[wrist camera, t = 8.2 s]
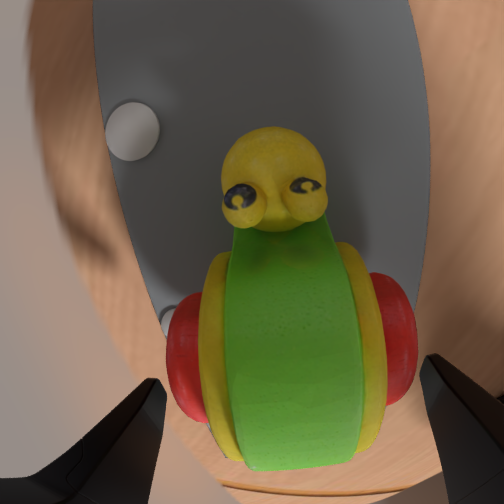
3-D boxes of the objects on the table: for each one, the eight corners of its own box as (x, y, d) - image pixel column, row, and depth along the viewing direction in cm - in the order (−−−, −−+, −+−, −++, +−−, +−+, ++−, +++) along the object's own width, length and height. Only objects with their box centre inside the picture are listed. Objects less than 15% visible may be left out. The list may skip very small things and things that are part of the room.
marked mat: (368, 440, 17) (369, 449, 16) (226, 451, 18) (225, 460, 18) (388, -35, 5) (395, -43, 5) (100, 4, 6) (90, -2, 6)
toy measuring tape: (368, 118, 8) (528, 140, 2) (345, 441, 16) (354, 522, 10) (169, 143, 9) (13, 201, 3) (254, 449, 17) (248, 529, 11)
